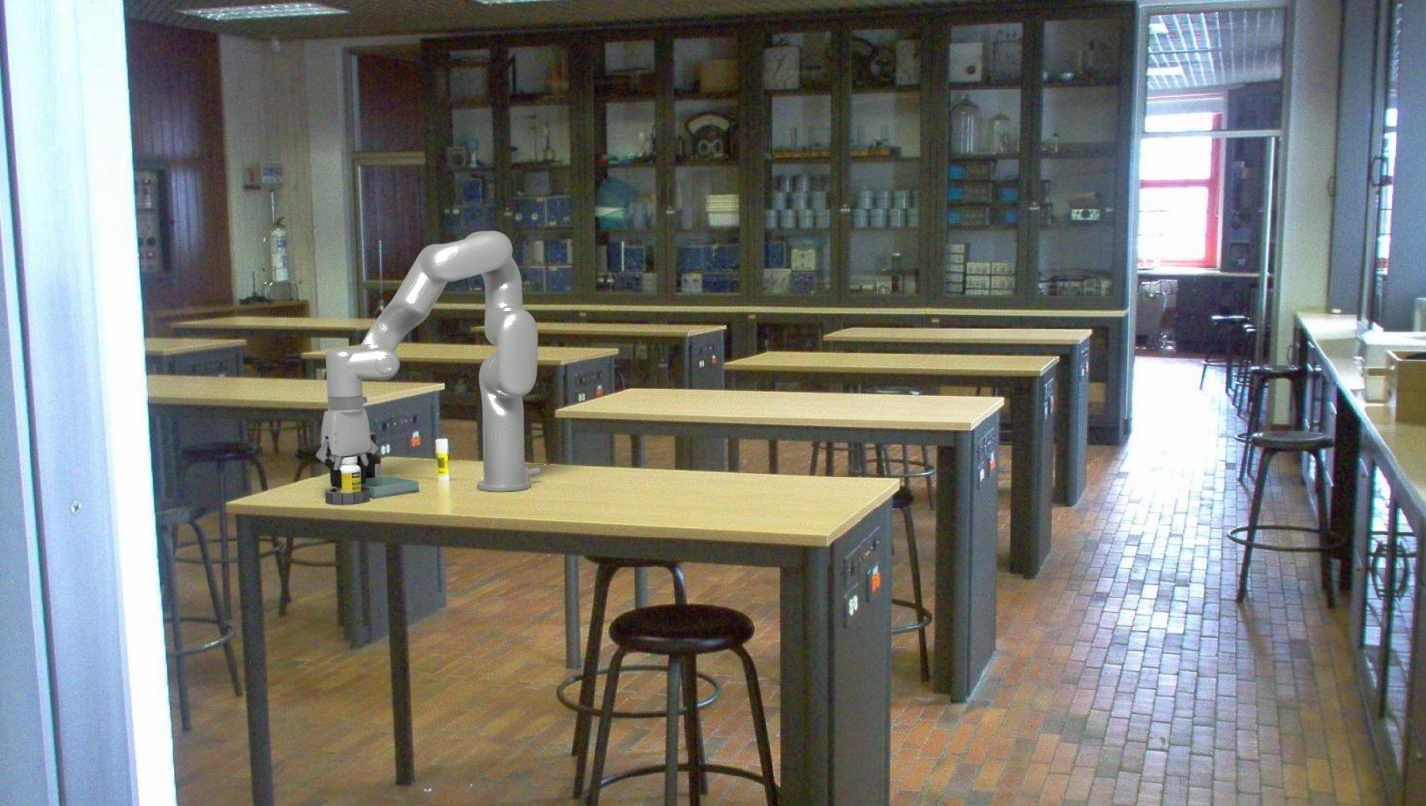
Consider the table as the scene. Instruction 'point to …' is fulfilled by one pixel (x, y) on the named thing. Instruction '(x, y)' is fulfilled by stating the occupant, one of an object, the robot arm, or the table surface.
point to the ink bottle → (373, 462)
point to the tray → (390, 486)
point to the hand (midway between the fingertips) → (348, 484)
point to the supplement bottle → (349, 475)
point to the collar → (347, 497)
